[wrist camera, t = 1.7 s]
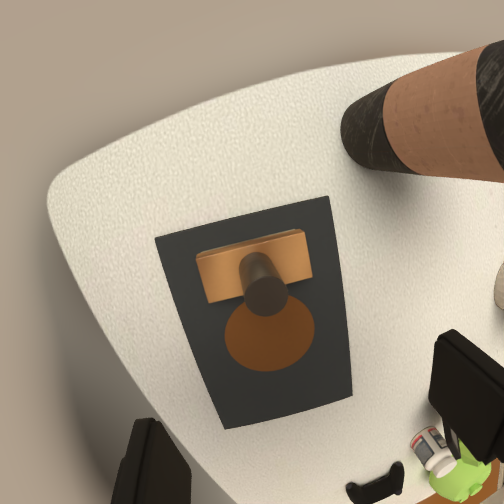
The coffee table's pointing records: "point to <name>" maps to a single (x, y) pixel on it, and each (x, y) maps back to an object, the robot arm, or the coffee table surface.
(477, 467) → the teapot
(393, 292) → the coffee table surface
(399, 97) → the travel mug
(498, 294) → the mug
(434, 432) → the pill bottle
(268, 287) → the scrub brush
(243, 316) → the scrub mat
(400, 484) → the gaming controller
